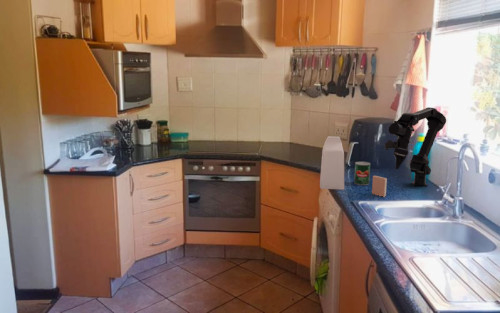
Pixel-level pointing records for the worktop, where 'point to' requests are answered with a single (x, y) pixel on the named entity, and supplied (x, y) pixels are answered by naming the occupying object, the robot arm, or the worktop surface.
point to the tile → (379, 186)
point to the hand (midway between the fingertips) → (396, 169)
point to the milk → (332, 164)
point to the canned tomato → (362, 173)
